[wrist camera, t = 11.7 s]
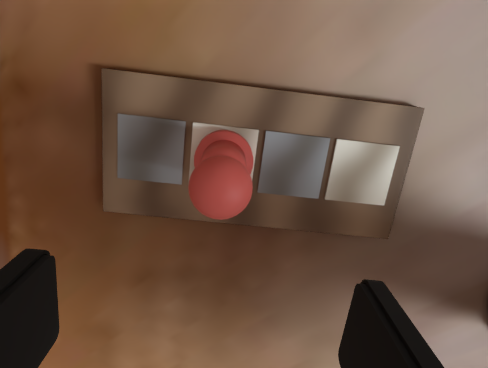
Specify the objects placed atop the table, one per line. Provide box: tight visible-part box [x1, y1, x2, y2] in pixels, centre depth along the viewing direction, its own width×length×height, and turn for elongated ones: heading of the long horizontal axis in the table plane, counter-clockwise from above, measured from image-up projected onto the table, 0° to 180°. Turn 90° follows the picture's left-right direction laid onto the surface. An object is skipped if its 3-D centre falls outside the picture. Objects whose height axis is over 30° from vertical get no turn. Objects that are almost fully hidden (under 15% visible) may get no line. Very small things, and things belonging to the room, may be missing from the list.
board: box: [102, 68, 424, 239], centre depth 29 cm, size 26×12×1 cm, turn 83°
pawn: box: [188, 130, 253, 220], centre depth 24 cm, size 5×5×10 cm
